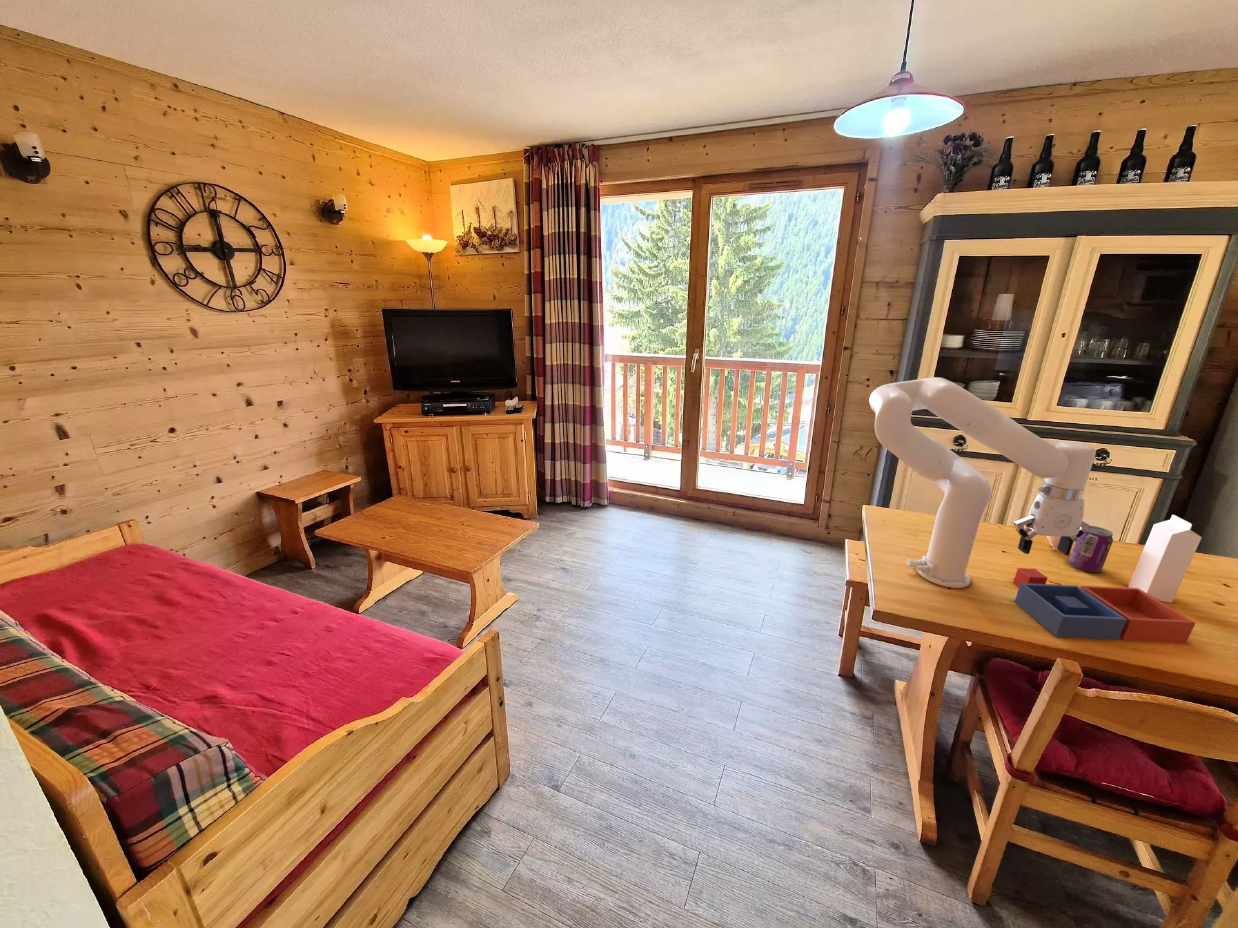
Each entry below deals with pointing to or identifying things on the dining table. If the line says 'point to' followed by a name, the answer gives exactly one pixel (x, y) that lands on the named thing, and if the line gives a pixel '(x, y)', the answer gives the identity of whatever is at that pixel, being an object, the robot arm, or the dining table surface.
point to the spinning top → (1054, 541)
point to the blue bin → (1093, 625)
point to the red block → (1029, 576)
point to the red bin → (1143, 615)
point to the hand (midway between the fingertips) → (1042, 551)
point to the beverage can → (1091, 549)
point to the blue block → (1069, 606)
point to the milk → (1165, 559)
